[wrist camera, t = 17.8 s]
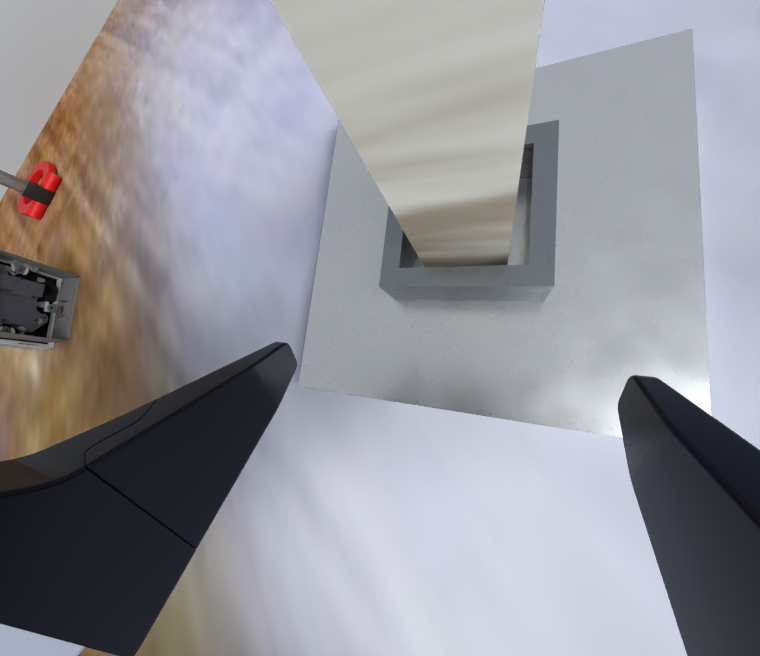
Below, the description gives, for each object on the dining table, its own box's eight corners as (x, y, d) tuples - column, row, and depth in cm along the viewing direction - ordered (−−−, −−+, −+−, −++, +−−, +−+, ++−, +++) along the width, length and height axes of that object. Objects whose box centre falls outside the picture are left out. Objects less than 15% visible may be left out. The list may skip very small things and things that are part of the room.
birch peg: (506, 267, 15) (566, -151, 3) (425, 269, 17) (267, -5, 5) (511, 192, 16) (574, -395, 4) (432, 201, 17) (306, -191, 5)
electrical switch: (64, 275, 35) (-70, 239, 26) (94, 269, 33) (-36, 229, 25) (50, 351, 33) (-99, 340, 24) (81, 348, 32) (-65, 335, 23)
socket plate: (695, 446, 12) (770, 470, 9) (307, 385, 20) (270, 386, 16) (679, 50, 15) (732, -41, 12) (345, 129, 22) (320, 87, 19)
